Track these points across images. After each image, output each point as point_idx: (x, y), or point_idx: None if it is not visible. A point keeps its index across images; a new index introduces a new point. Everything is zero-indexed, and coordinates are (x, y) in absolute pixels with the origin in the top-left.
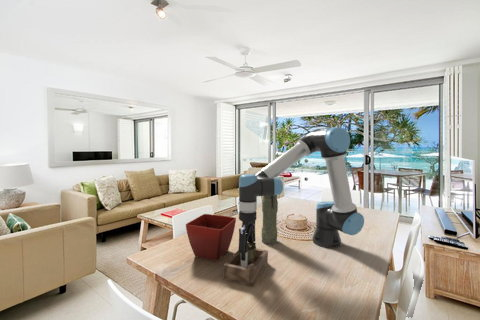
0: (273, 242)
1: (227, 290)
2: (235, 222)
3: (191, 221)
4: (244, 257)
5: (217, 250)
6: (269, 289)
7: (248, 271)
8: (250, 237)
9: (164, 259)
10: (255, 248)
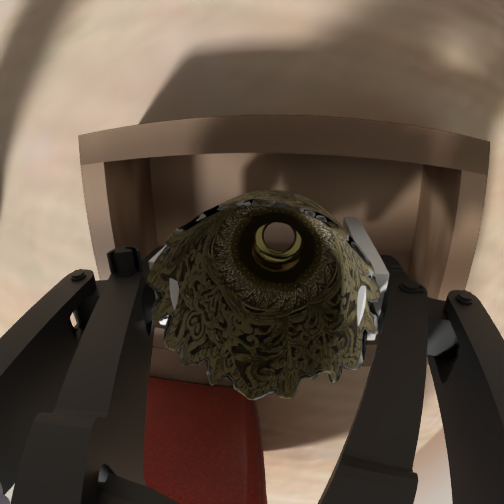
0: None
1: (490, 255)
2: None
3: None
4: (399, 270)
5: (261, 439)
6: (423, 41)
7: (482, 178)
8: (132, 361)
9: (312, 489)
10: (265, 199)
